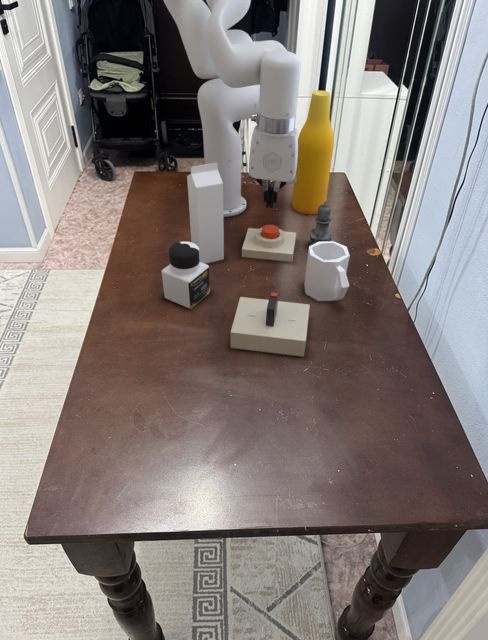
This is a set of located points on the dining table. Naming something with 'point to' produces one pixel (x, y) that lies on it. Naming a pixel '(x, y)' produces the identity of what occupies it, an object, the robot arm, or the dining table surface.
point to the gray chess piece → (321, 225)
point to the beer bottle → (314, 156)
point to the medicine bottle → (185, 275)
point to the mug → (327, 271)
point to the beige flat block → (270, 327)
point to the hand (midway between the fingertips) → (270, 204)
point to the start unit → (269, 245)
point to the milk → (206, 211)
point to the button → (270, 231)
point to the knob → (272, 309)
